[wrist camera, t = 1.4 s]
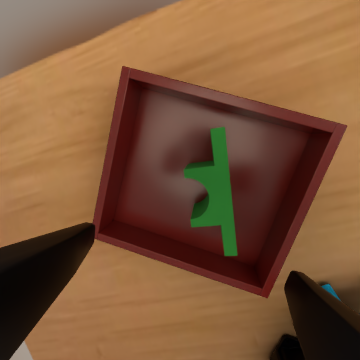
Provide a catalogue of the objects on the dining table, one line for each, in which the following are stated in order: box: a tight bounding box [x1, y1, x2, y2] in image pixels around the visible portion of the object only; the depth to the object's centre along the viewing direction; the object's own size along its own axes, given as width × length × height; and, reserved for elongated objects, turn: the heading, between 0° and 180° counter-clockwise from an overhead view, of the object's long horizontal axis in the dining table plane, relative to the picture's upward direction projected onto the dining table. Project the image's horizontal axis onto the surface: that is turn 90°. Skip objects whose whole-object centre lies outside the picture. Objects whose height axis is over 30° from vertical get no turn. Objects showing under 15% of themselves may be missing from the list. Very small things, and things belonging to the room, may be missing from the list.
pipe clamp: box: [184, 127, 237, 256], centre depth 19 cm, size 11×4×5 cm, turn 8°
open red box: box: [93, 66, 347, 298], centre depth 20 cm, size 19×17×4 cm
